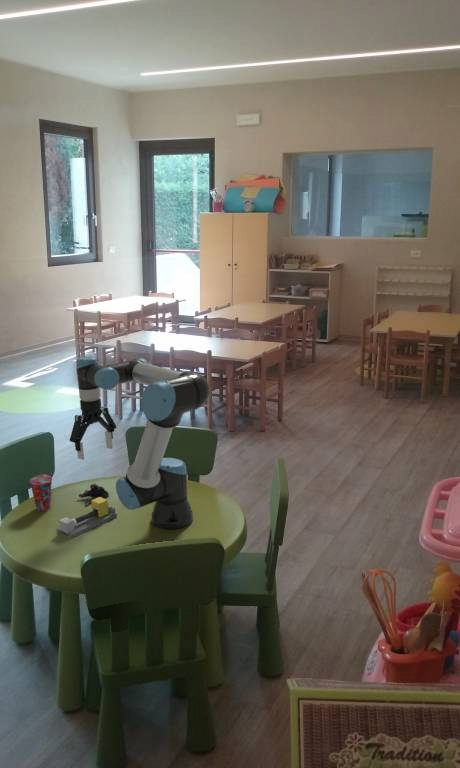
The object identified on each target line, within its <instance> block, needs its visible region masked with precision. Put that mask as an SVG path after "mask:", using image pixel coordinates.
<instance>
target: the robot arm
mask: <svg viewBox="0 0 460 768" xmlns="http://www.w3.org/2000/svg"><path fill="white" fill-rule="evenodd" d="M75 362H76V366H75V367H76V377H77V383H78V384H77V386H78V394H79V399H80V400H79V405H80V410H81V414H80V415H79V414H75V415H74V423H73V427H72V430H71V434H70V438H69V442H71V443H74V447H75V451H76V452H77V459H79V460H85V454H84V444H83V442H82V439H83V437H84V435H85V433H86V431H87V429H88V427H89V428H90V425H93V424H96V423H99V425H100V426H102V427H103V428H104V429H105V431H104V436H105V445H106V448H107V449H110V450H112V449H114V448H113V447H114V446H113V439H114V436H113V435H114V433H113V432H115V429H117V424H116V423H115V421H114V419H113V418H112V416H111V414H110V412H109V408H108V407H106V406H102V401H101V400H102V399H101V389H102V390H112V389H113V390H114V389H115V388H116V387H118V385H121V384H126V383H129V382H130V383H131V382H133V383H137V384H142V385H144V386H145V388H144V389H143V391H142V394H141V398H140V401H141V402H140V403H141V404H142V405H141V409H142V412H143V414H144V416H145V418H146V420H147V421H146V423H145V428H144V430H143V433H142V437H141V439H140V444H139V446H138V448H137V449H138V450H137V453H136V456H135V458H134V459H135V460H134V462H133V463H132V464H131V465H129V466H128V468H127V469H126V474H125V476H124V477H120V478H118V479H117V480H116V482H115V492H116V494H117V497H118V499H119V501H120V503H121V504H122V506H123V507H125V509H127V510H130V511H133V510H137V509H141V508H142V507H144V506H147V505H151V504H153V503H154V505H153V511H152V512H151V523H152V525H153V526H154V527H157V528H160V529H164V530H176V529H181V528H184V527H187V526H189V525H190V524H191V523H193V520H194V513H193V509H192V508H191V507H192V506H191V504H190V502H189V499H188V480H187V479H188V476H187V475H188V473H187V466H186V463H185V462H184V461H182V459H179V458H174V457H164V455H165V453H166V450H167V447H168V444H169V441H170V437H171V435H172V433H173V432H172V431H173V429H174V428H176V427H178V426H179V425H180V423H181V420H182V418H183V415H184V414H187V413H188V412H189V413H190V412H192V411H195V410H198V409H200V408H201V407H203V406H204V405H205V404H206V403H207V401H208V399H209V397H210V392H211V391H210V390H211V389H210V383H209V382H208V381H207V379H206V377H204V376H203V375H201V373H197V372H194V371H190V370H185V371H177V370H174V369H170V368H166V367H162V366H157V365H154V364H150V363H149V362H148V361H147V360H146V359H145V358H133V359H130V360H125V361H122V362H117V363H111V364H106V365H99V364H98V363H99V362H98V359H97V357H95V356H89V355H88V356H82V357H78V358H77V359H76V361H75ZM102 416H103V417H102ZM104 419H105V420H106V421H105V420H104Z"/></svg>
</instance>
